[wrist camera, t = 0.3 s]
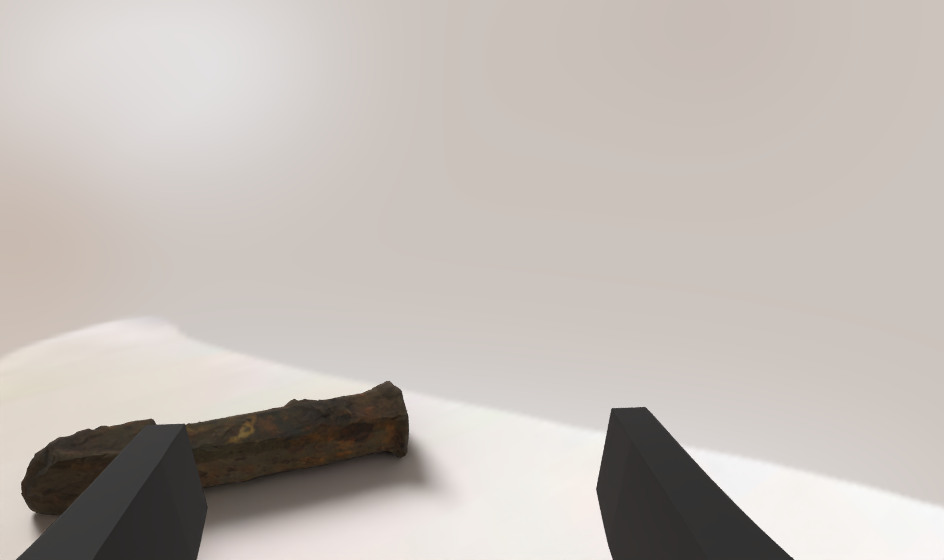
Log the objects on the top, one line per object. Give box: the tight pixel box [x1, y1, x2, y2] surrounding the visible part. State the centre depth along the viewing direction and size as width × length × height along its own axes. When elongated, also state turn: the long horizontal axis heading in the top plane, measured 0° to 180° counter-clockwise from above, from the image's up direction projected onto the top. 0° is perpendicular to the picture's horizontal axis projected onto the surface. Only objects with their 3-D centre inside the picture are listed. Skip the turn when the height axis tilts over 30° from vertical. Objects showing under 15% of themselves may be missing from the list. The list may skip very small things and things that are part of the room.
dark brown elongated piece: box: [21, 381, 409, 514], centre depth 35 cm, size 19×4×5 cm, turn 109°
